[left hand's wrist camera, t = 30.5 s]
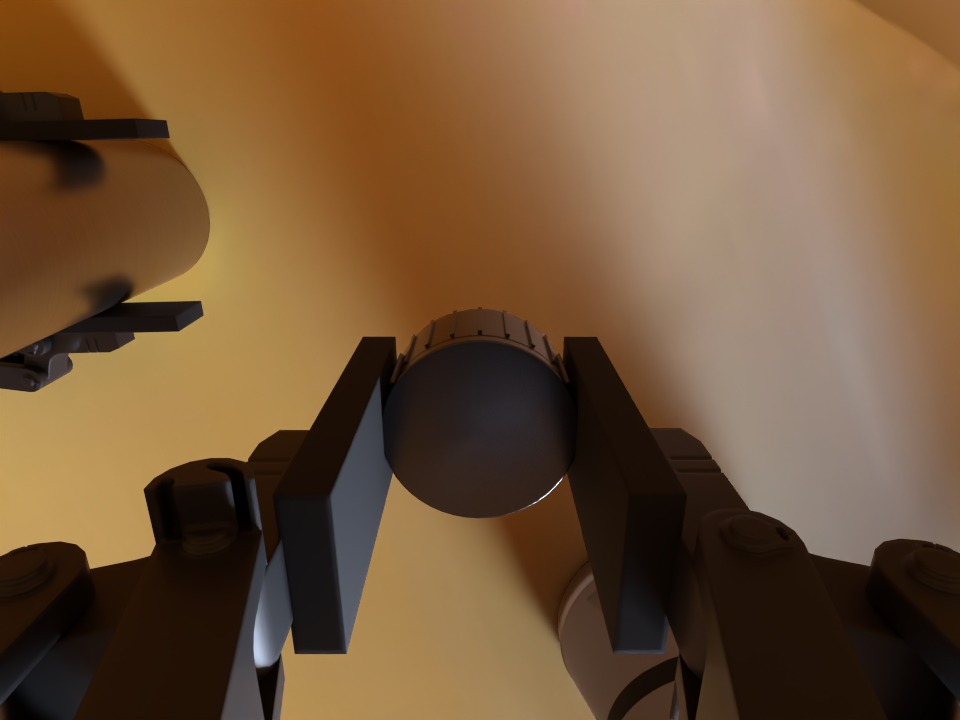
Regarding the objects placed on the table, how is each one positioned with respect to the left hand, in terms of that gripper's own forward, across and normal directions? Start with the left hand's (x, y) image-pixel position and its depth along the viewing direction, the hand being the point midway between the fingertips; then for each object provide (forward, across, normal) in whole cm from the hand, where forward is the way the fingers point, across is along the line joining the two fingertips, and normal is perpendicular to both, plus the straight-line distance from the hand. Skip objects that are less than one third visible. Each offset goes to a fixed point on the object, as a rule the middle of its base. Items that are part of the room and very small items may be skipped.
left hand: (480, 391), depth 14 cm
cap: (-2, 0, 0) cm, 2 cm away
